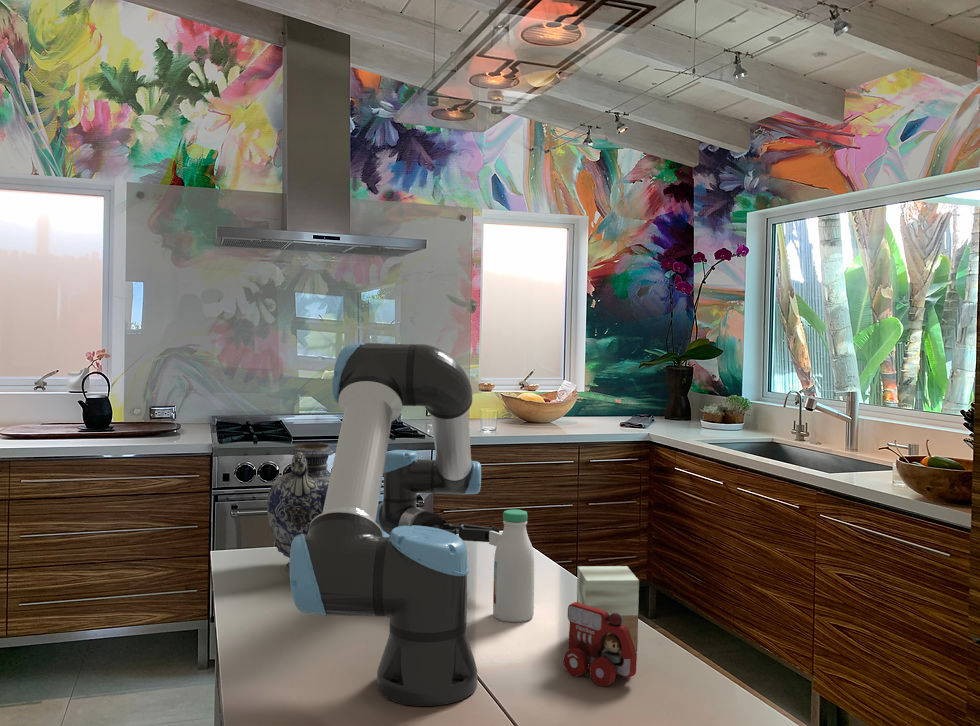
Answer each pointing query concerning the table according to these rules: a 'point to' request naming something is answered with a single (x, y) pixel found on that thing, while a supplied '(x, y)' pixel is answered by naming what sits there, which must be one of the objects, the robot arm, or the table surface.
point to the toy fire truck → (599, 645)
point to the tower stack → (611, 593)
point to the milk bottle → (514, 570)
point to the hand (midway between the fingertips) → (484, 548)
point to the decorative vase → (298, 495)
